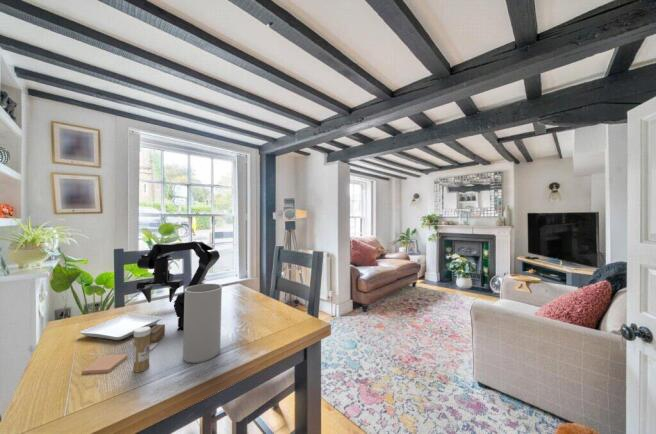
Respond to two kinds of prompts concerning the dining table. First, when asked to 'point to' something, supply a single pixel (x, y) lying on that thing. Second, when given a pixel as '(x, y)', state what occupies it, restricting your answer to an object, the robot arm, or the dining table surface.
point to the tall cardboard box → (156, 335)
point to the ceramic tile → (104, 364)
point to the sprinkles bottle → (141, 349)
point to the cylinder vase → (202, 322)
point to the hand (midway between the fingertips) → (160, 302)
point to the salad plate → (121, 326)
